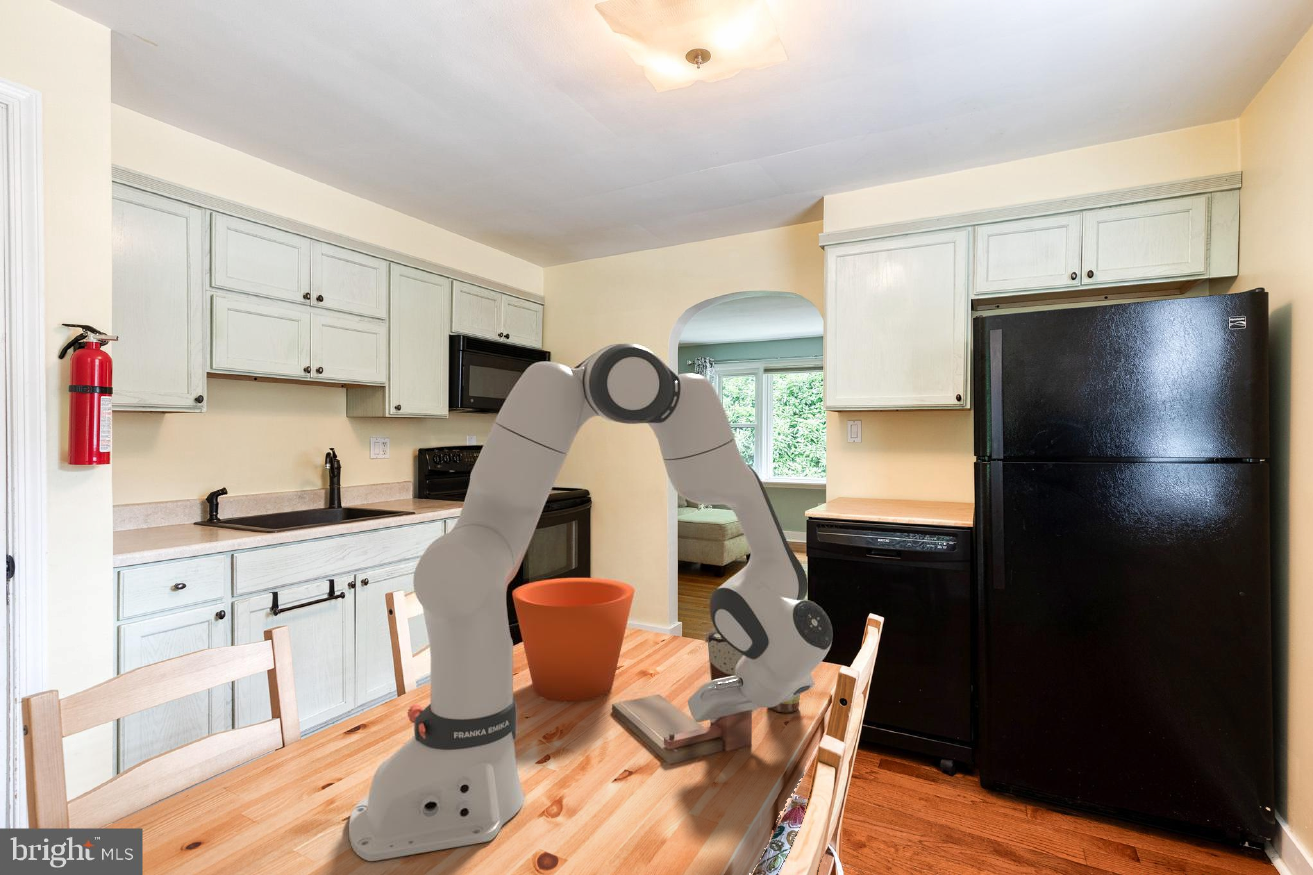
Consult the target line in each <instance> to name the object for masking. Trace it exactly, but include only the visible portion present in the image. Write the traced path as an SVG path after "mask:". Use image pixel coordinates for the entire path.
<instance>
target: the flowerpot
mask: <svg viewBox="0 0 1313 875" xmlns="http://www.w3.org/2000/svg"><path fill="white" fill-rule="evenodd" d="M634 594H635V588H634V587H633V586H632V585H631V584H628V583H626V582H622V581H618V580H612V579H606V578H599V577H598V578H595V577H566V578H565V577H561V578H560V577H559V578H552V579H542V580H538V581H532V582H529V583H525V584H522V585H521V586H518V587H516V588H515V589H514V590H512V593H511V595H512V599H513V603H514V608H515V612H516V613H515V614H516V618H517V621H518V626H519V630H520V635H521V638H522V642H523V647H524V652H525V657H526V661H527V666H528V671H529V675H530V679H531V683H532V688H533V689H532V690H533V692H534V693H535V695H537V696H538V697H539V696H540V698H541V697H542V698H541V699H543V698H544V700H546V699H547V701H551V702H555V701H556V702H555V703H568V704H569V703H581V702H582V701H583V702H589V701H593V700H595V699H598V697H599V698H601V696H602V697H604V696H606V695H607V694H609V693H610V691H611V690H612V688H613V685H614V680H615V677H616V673H617V668H618V663H619V659H620V654H621V650H622V647H623V643H624V638H625V634H626V629H627V625H628V621H629V617H630V611H631V608H632V603H633V598H634ZM605 694H606V695H605ZM603 695H604V696H603Z"/></svg>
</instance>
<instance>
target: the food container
mask: <svg viewBox="0 0 1313 875" xmlns="http://www.w3.org/2000/svg"><path fill="white" fill-rule="evenodd" d="M704 643H707V648H708V649H707V650H708V658H709V659H708V660H709V672H710V681H712V680H715V679H720V678H725V677H730V676H735V669H736V665H737V663H738V661H739V660H740V659H741V658H742V656H743V654H741V653H740V652H738V651H737V650H735V649H734V648H733V647H731V646H730V645H729V644H728V643H727V642H725V641H724V639H723V638H722V637H721V636H720V635H719V634H718V632H717V631H716V630H711V631H710V632H707V634H706V636H705V642H704Z"/></svg>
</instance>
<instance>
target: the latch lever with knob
mask: <svg viewBox="0 0 1313 875" xmlns="http://www.w3.org/2000/svg"><path fill="white" fill-rule="evenodd" d="M752 717H753V712H752V710H748V711H744V712H740V713H736V714H731V715H727V716H723V718H722V719H721V720H720V721H718V722H714V723H711V722H710V725H709V726H705V727H704V726H703V727H704V728H700V729H696V730H692V731H688V732H684V733H680V734H676V735H674V734H673V733H670V734H669V736H667V737H664V746H666V747H667V748H668V749H673V748H677V747H681V746H685V745H689V744H693V743H697V742H701V741H705V740H709V739H713V738H719V739H720V740H722V741H723V750H725V752H730V751H732V750H737V749H741V748H745V747H748V746H752V743H753V741H752V740H753V739H752V737H753V736H752V735H753V733H752V732H753V730H752V729H753V726H752V725H753V723H752V722H753V718H752Z"/></svg>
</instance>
